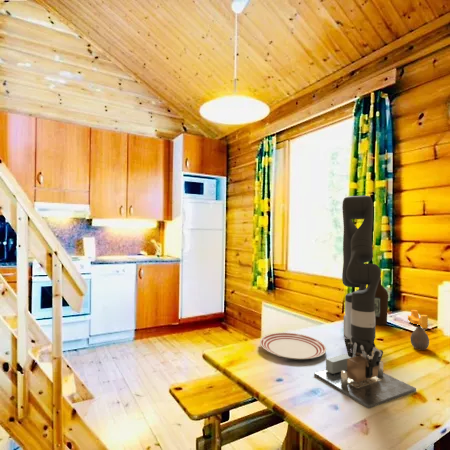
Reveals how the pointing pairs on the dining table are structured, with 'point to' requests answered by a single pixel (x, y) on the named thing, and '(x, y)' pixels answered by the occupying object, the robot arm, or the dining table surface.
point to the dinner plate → (293, 346)
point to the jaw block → (358, 369)
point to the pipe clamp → (418, 319)
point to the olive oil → (381, 304)
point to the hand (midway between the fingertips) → (362, 374)
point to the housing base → (367, 387)
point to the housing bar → (337, 363)
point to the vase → (419, 339)
